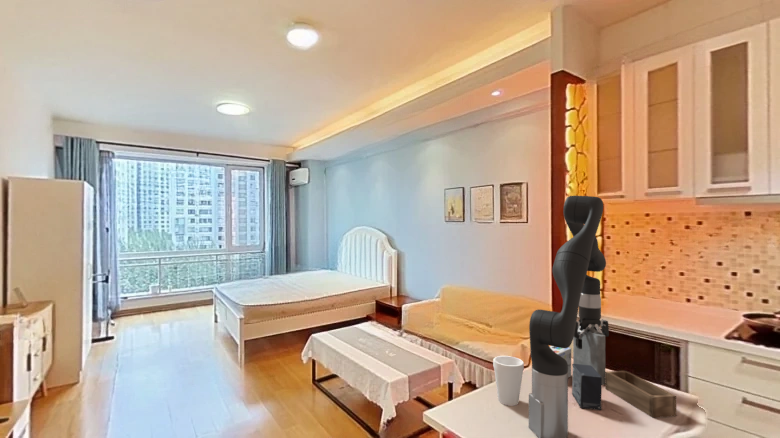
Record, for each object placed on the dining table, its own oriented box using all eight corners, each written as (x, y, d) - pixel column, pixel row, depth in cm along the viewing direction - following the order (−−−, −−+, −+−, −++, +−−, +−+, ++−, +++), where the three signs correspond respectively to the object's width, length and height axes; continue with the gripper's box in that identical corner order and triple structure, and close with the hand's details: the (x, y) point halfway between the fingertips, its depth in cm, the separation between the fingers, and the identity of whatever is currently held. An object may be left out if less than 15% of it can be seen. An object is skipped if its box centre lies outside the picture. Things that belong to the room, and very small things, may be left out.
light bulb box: (554, 370, 150) (554, 343, 150) (572, 376, 144) (572, 347, 144) (540, 377, 143) (540, 348, 143) (558, 383, 138) (558, 353, 138)
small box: (603, 411, 118) (603, 376, 118) (580, 408, 119) (580, 375, 119) (592, 395, 128) (592, 364, 128) (571, 394, 129) (571, 362, 129)
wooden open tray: (652, 417, 113) (652, 397, 114) (605, 388, 133) (605, 371, 133) (676, 416, 115) (676, 396, 115) (625, 387, 134) (625, 370, 135)
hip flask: (571, 368, 152) (571, 318, 152) (580, 368, 153) (580, 318, 153) (599, 385, 136) (599, 329, 136) (609, 384, 137) (609, 328, 137)
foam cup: (487, 400, 124) (487, 360, 124) (502, 391, 130) (502, 353, 130) (514, 411, 117) (514, 368, 117) (528, 401, 123) (529, 361, 123)
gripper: (578, 307, 140) (578, 352, 140) (613, 306, 142) (613, 350, 142) (566, 303, 147) (566, 345, 147) (599, 302, 150) (599, 344, 149)
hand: (589, 348), depth 145 cm, fingers open, 8 cm apart
